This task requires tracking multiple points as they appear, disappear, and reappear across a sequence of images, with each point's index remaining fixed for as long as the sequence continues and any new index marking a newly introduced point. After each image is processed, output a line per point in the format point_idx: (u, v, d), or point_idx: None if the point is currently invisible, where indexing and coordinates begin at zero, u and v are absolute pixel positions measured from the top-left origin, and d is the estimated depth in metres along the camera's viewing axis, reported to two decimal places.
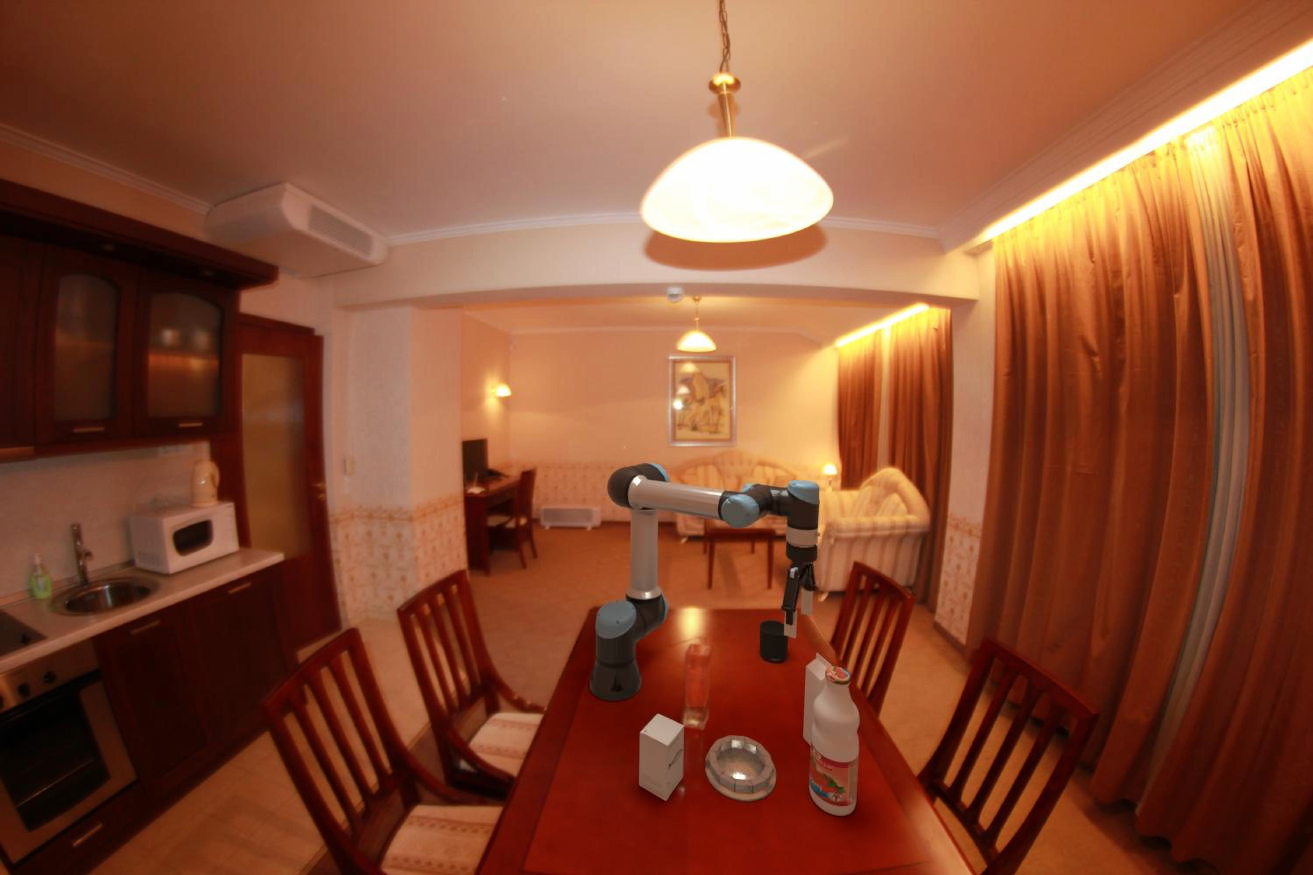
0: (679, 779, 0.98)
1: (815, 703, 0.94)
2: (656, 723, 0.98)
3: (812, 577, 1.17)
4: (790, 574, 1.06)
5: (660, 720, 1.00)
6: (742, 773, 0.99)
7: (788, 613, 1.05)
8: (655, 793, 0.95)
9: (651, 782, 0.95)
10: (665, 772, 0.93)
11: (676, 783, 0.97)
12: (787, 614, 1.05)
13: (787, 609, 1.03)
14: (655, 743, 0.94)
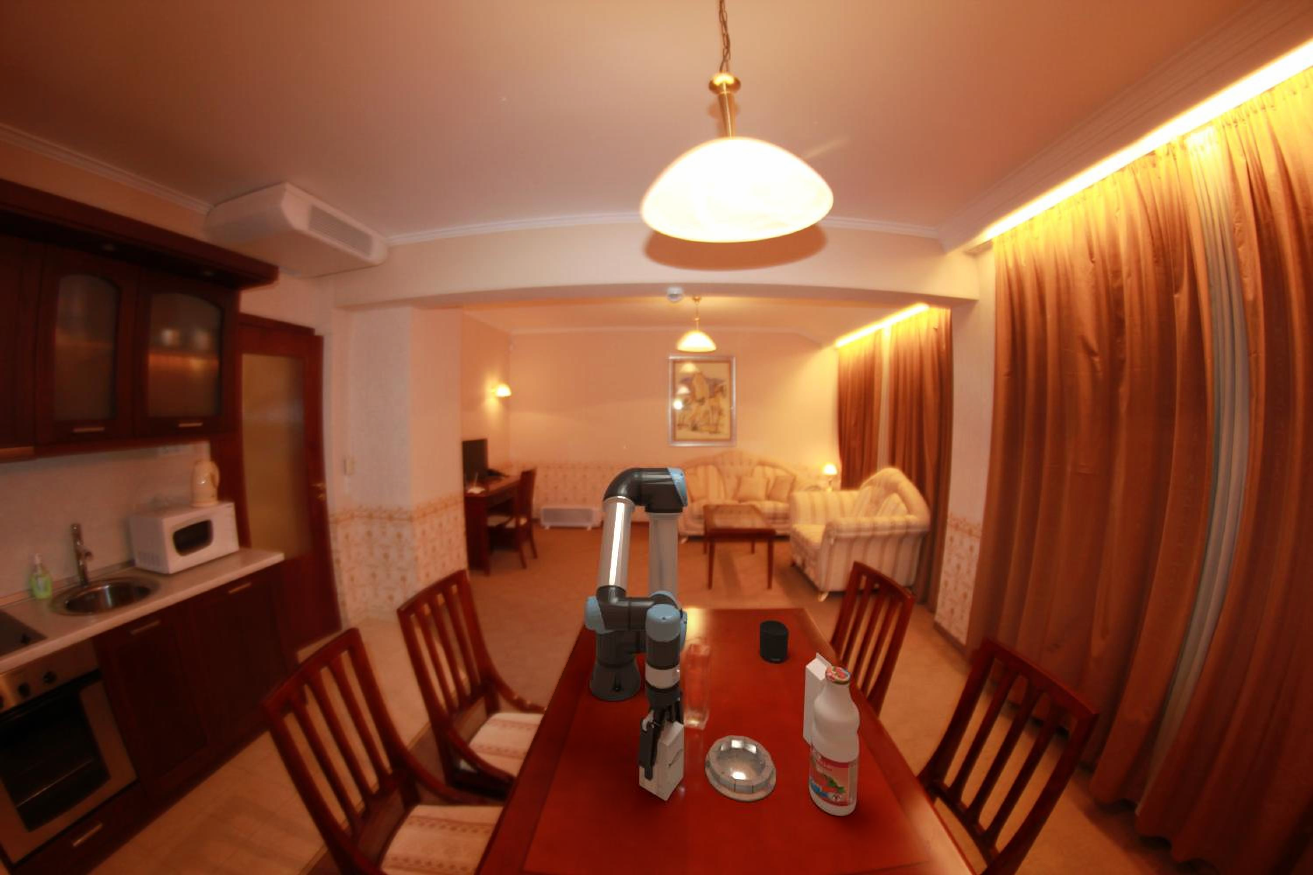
0: (679, 779, 0.98)
1: (815, 703, 0.94)
2: None
3: (679, 719, 1.01)
4: (642, 727, 0.92)
5: None
6: (742, 773, 0.99)
7: None
8: None
9: None
10: (665, 772, 0.93)
11: (676, 783, 0.97)
12: None
13: (642, 766, 0.91)
14: None
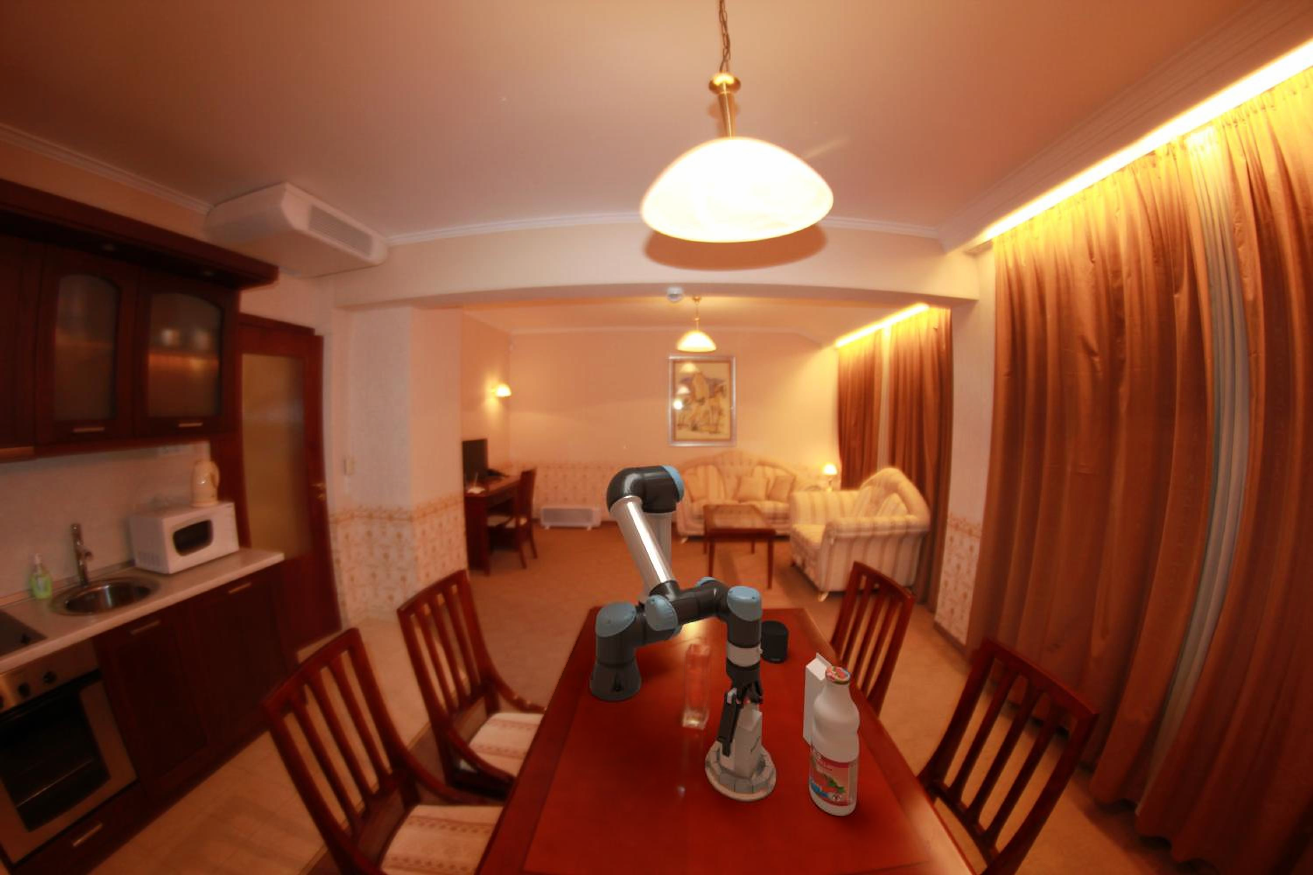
0: (758, 764, 1.01)
1: (815, 703, 0.94)
2: None
3: (758, 688, 1.06)
4: (727, 699, 0.94)
5: None
6: None
7: None
8: (737, 777, 0.98)
9: None
10: (747, 756, 0.96)
11: (755, 768, 1.00)
12: (723, 744, 0.94)
13: (722, 741, 0.92)
14: (737, 729, 0.97)
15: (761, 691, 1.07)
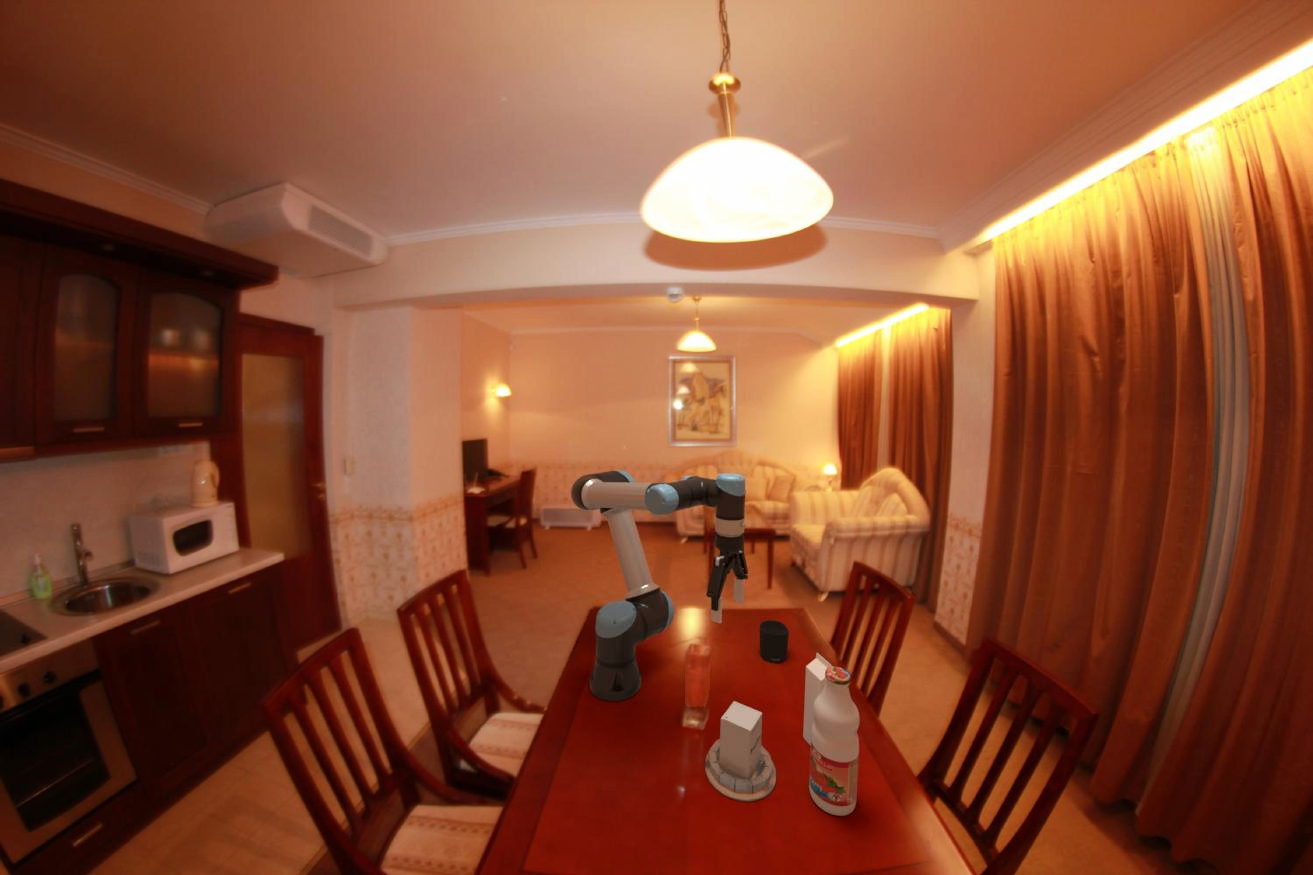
0: (758, 764, 1.01)
1: (815, 703, 0.94)
2: (735, 710, 1.02)
3: (743, 566, 1.23)
4: (715, 562, 1.11)
5: (738, 707, 1.03)
6: None
7: (713, 599, 1.10)
8: (737, 777, 0.98)
9: (733, 766, 0.98)
10: (747, 756, 0.96)
11: (755, 768, 1.00)
12: (712, 600, 1.10)
13: (711, 595, 1.09)
14: (737, 729, 0.97)
15: (746, 569, 1.24)
